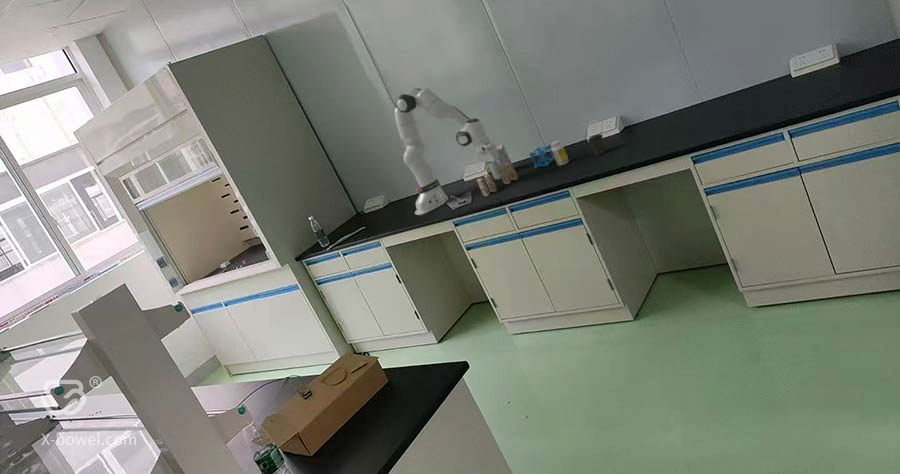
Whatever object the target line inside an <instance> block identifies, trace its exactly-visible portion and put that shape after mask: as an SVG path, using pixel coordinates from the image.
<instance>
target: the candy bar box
mask: <svg viewBox="0 0 900 474" xmlns="http://www.w3.org/2000/svg"><path fill="white" fill-rule="evenodd" d="M495 147H496V149H497V151H498V154H499V156H500V159H499V160H498V163H499V164H500V167H505V169H506V166H505V164H506V163H512V161H511V159H510V157H509V155H508V151H507V150H506V147H505V145H504V143H502V144H500V145H497V146H495ZM506 171H507V169H506ZM507 173H508V171H507Z"/></svg>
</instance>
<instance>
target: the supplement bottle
mask: <svg viewBox="0 0 900 474" xmlns="http://www.w3.org/2000/svg"><path fill="white" fill-rule="evenodd" d="M550 145H551V147H552V148H551V152H552V154H553V157H555V162H556V164H557V166H559V167H560V166H563V165H566V164H568V163H569V162H570V160H569V157H568V154H567V152H566V149H565V148H564V144H561V142H560V140H556V141H553V142H551V144H550Z"/></svg>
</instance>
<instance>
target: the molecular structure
mask: <svg viewBox="0 0 900 474" xmlns="http://www.w3.org/2000/svg"><path fill="white" fill-rule="evenodd" d="M551 147H552V145H551V144H547V145H546V146H542V147H538V146H537V147H536V149H535V150H534V151H532V152H529V156H530V157H531V159H532V160H533V163H534V166H533V167H534V168H535V169H538V168H539V167H544V166H545V167H548V166H549V165H550V163H551V162H553V161H555V162H556V160H555V157H554V155H553V152H552V148H551ZM548 150H549V153H550V154H551V157H550V156H545V155H546V153H547V152H548ZM534 157H539V158H540V159H539V160H538V162H537V163H536V160H535V158H534Z"/></svg>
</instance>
